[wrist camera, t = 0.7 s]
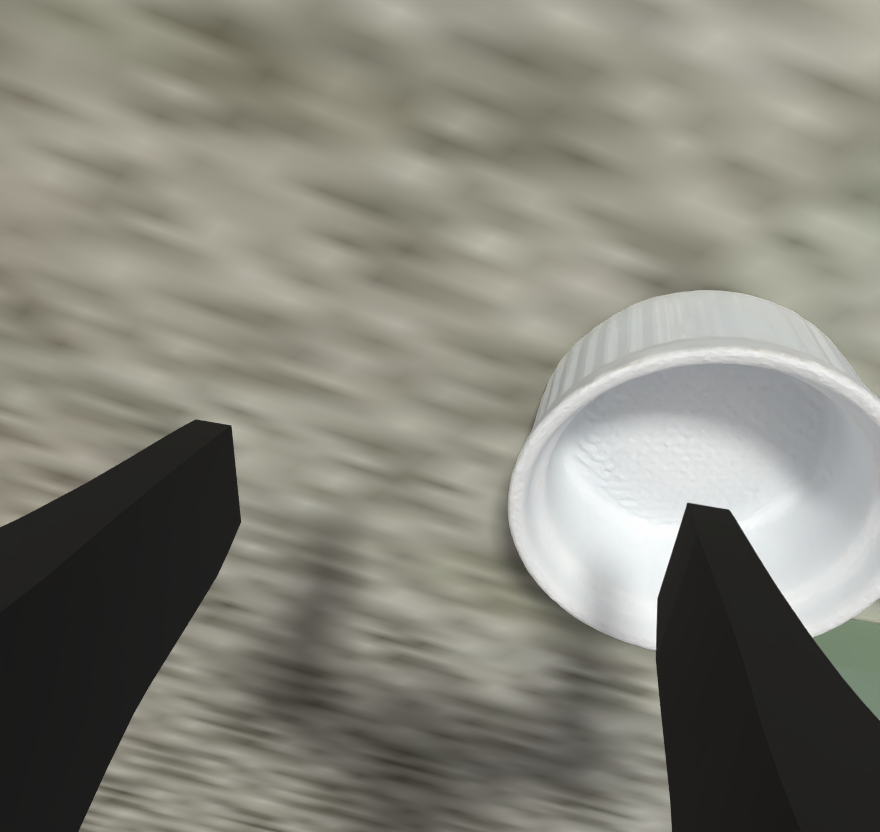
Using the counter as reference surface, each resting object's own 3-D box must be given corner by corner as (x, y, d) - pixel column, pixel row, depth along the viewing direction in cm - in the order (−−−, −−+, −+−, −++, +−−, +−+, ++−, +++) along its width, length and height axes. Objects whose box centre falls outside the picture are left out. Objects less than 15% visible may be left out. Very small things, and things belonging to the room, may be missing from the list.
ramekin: (921, 484, 21) (983, 605, 17) (613, 579, 25) (613, 693, 21) (798, 197, 18) (843, 272, 14) (465, 357, 21) (434, 449, 18)
